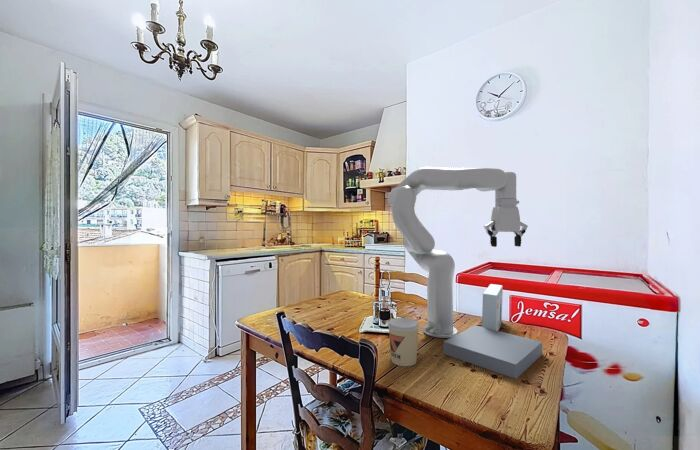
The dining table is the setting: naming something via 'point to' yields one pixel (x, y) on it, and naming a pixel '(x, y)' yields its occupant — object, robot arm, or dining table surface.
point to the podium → (494, 350)
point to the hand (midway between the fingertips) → (505, 246)
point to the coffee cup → (403, 341)
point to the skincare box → (492, 307)
